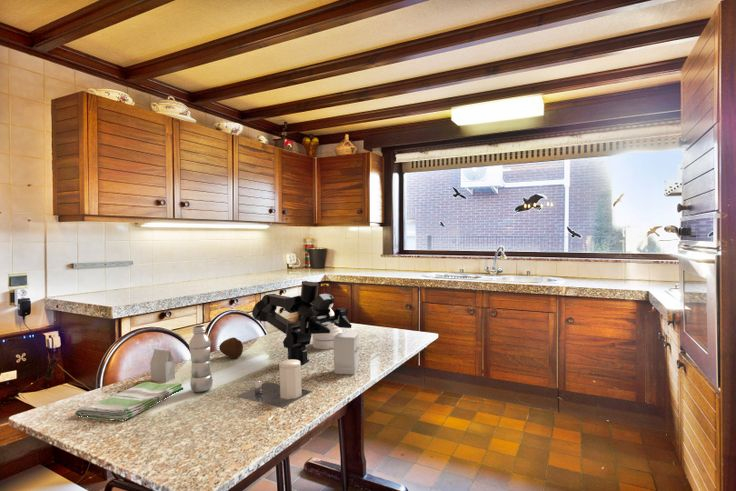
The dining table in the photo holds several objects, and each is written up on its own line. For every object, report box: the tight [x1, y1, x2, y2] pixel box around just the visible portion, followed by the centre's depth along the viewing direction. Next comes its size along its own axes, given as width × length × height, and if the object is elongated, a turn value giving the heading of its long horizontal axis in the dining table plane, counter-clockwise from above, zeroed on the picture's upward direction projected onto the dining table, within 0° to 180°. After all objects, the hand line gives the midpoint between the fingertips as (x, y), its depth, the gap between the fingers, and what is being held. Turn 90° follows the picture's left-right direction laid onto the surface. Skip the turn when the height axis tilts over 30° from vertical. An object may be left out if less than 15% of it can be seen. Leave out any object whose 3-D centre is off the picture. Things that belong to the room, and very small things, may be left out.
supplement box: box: [333, 332, 360, 375], centre depth 142 cm, size 7×7×13 cm
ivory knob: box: [278, 359, 303, 399], centre depth 120 cm, size 6×6×10 cm
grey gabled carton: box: [149, 348, 176, 383], centre depth 138 cm, size 4×7×10 cm, turn 69°
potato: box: [218, 337, 244, 359], centre depth 162 cm, size 7×10×8 cm
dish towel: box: [74, 381, 184, 421], centre depth 120 cm, size 17×23×4 cm
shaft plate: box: [235, 379, 313, 409], centre depth 121 cm, size 18×13×4 cm
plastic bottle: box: [188, 324, 214, 393], centre depth 127 cm, size 6×7×20 cm
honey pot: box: [312, 303, 343, 350], centre depth 176 cm, size 13×13×18 cm
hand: (340, 329), depth 134 cm, fingers open, 9 cm apart
